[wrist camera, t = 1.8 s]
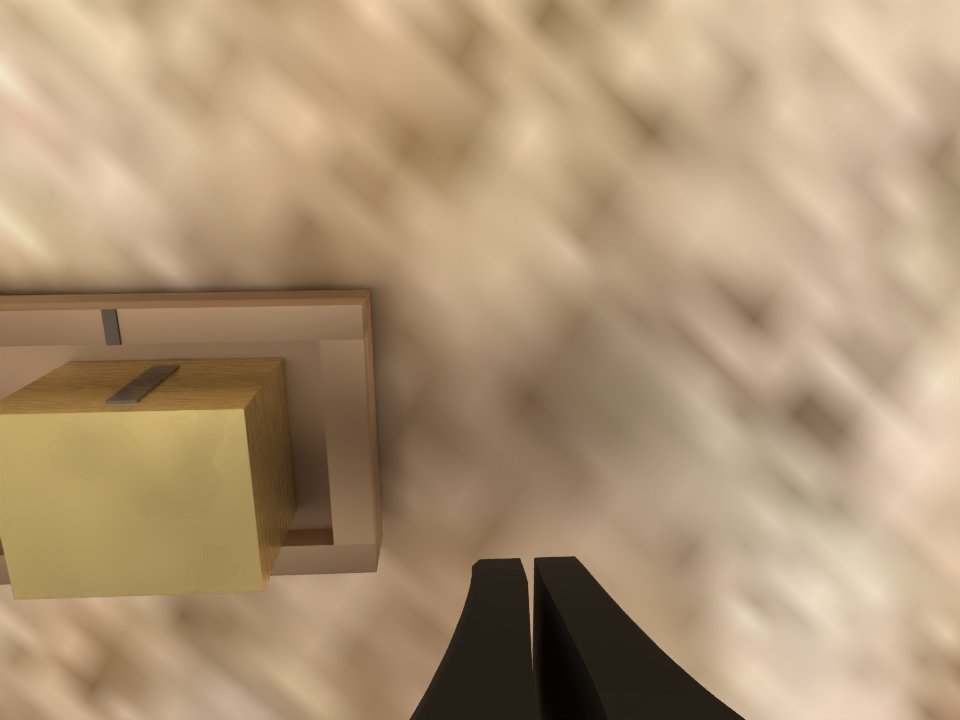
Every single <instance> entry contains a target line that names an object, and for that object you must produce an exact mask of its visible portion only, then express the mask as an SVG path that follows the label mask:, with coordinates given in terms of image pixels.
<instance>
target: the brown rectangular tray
mask: <svg viewBox="0 0 960 720" xmlns="http://www.w3.org/2000/svg"><path fill="white" fill-rule="evenodd" d="M240 358H283V359H284V370H285V381H286V392H287V403H288V415H289V426H290V437H291V448H292V460H293V471H294V482H295V493H296V505H297V511H296V513H295V515H294V518H293V520H292V523H291V525H290V528H289V530H288V533H287V535H286V537H285V540H284V542H283V545H282V547H281V550H280V552H279V555H278V557H277V559H276V562H275V564H274V567H273V569H272V572H271V574H270V576H274V575H304V574H334V573H364V572H377V566H378V559H379V553H380V547H381V541H382V517H381V497H380V478H379V459H378V440H377V421H376V401H375V382H374V363H373V344H372V325H371V305H370V290H312V291H251V292H191V293H130V294H70V295H9V296H0V400H2V399H3V398H5V397H7V396H9V395H10V394H12V393H14V392H16V391H17V390H19V389H21V388H23V387H24V386H26V385H28V384H30V383H31V382H33V381H35V380H37V379H39V378H40V377H42V376H44V375H46V374H47V373H49V372H51V371H53V370H54V369H56V368H58V367H60V366H61V365H63V364H65V363H67V362H93V361H142V360H191V359H240ZM3 584H11V582H10V577H9V573H8V568H7V564H6V559H5V555H4V550H3V546H2V541H1V537H0V585H3Z"/></svg>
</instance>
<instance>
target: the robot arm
mask: <svg viewBox="0 0 960 720" xmlns="http://www.w3.org/2000/svg"><path fill="white" fill-rule="evenodd" d="M410 720H745V719H744V718H743V717H741V716H740V715H739V714H737V713H736V712H735V711H733V710H732V709H731V708H729V707H728V706H727V705H725V704H724V703H723V702H721V701H720V700H719V699H718V698H716V697H715V696H714V695H713V694H711V693H710V692H709V691H708V690H706V689H705V688H704V687H703V686H702V685H700V684H699V683H698V682H697V681H696V680H694V679H693V678H692V677H691V676H690V675H689V674H688V673H687V672H685V671H684V670H683V669H682V668H681V667H680V666H679V665H678V664H676V663H675V662H674V661H673V660H672V659H671V658H670V657H669V656H668V655H667V654H666V653H665V652H664V651H663V650H662V649H660V648H659V647H658V646H657V645H656V644H655V643H654V642H653V641H652V640H651V639H650V638H649V637H648V636H647V635H646V634H645V632H644V631H643V630H642V629H641V628H640V627H639V626H638V625H637V624H636V623H635V622H634V621H633V620H632V619H631V618H630V617H629V616H628V615H627V614H626V613H625V612H624V611H623V610H622V609H621V608H620V606H619V605H618V604H617V603H616V602H615V601H614V600H613V599H612V598H611V596H610V595H609V594H608V593H607V592H606V591H605V590H604V589H603V587H602V586H601V585H600V584H599V583H598V582H597V581H596V579H595V578H594V577H593V576H592V575H591V574H590V572H589V571H588V570H587V569H586V568H585V567H584V565H583V564H582V563H581V562H580V561H579V560H578V559H577V558H576V557H575V556H572V557H541V558H534V607H533V671H532V653H531V634H530V614H529V595H528V581H527V578H526V574H525V571H524V568H523V565H522V562H521V560H520V558H510V559H480V560H479V561H477V562H476V563H475V564H474V565H473V566H472V578H471V584H470V588H469V592H468V596H467V599H466V602H465V605H464V608H463V612H462V614H461V617H460V619H459V622H458V624H457V627H456V629H455V632H454V634H453V637H452V639H451V642H450V644H449V647H448V649H447V651H446V653H445V655H444V657H443V659H442V661H441V663H440V665H439V667H438V669H437V671H436V673H435V675H434V677H433V679H432V681H431V683H430V685H429V687H428V689H427V691H426V692H425V694H424V696H423V698H422V699H421V701H420V703H419V705H418V706H417V708H416V710H415V711H414V713H413V715H412V716H411V718H410Z"/></svg>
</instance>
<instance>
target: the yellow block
mask: <svg viewBox="0 0 960 720" xmlns="http://www.w3.org/2000/svg"><path fill="white" fill-rule="evenodd" d="M296 511H297V505H296V493H295V482H294V471H293V460H292V448H291V437H290V426H289V415H288V403H287V392H286V381H285V370H284V359H283V358H240V359H191V360H142V361H93V362H67V363H65V364H63V365H61V366H60V367H58V368H56V369H54V370H53V371H51V372H49V373H47V374H46V375H44V376H42V377H40V378H39V379H37V380H35V381H33V382H31V383H30V384H28V385H26V386H24V387H23V388H21V389H19V390H17V391H16V392H14V393H12V394H10V395H9V396H7V397H5V398H3V399H2V400H0V537H1V541H2V546H3V550H4V555H5V559H6V564H7V568H8V573H9V577H10V582H11V586H12V591H13V595H14V600H25V599H54V598H84V597H113V596H142V595H172V594H201V593H230V592H260V591H264V589H265V586H266V584H267V581H268V579H269V577H270V574H271V572H272V569H273V567H274V564H275V562H276V559H277V557H278V555H279V552H280V550H281V547H282V545H283V542H284V540H285V537H286V535H287V533H288V530H289V528H290V525H291V523H292V520H293V518H294V515H295V513H296Z"/></svg>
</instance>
